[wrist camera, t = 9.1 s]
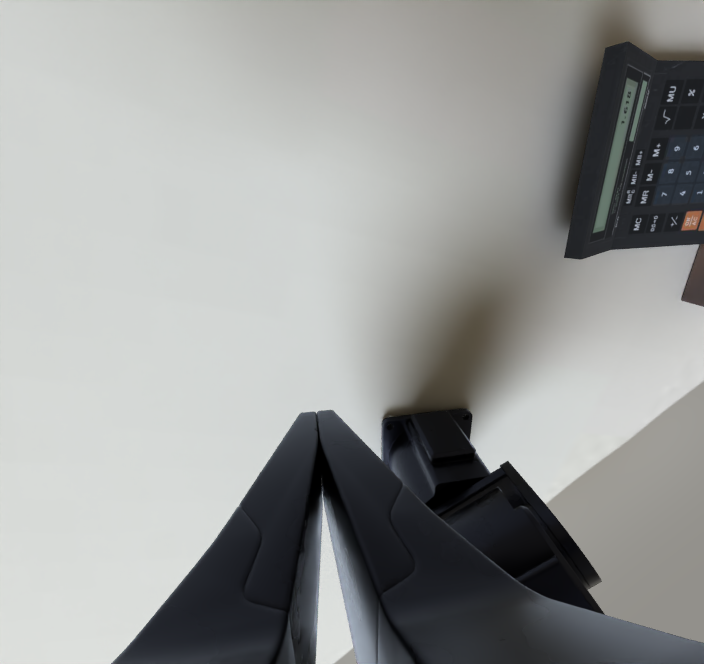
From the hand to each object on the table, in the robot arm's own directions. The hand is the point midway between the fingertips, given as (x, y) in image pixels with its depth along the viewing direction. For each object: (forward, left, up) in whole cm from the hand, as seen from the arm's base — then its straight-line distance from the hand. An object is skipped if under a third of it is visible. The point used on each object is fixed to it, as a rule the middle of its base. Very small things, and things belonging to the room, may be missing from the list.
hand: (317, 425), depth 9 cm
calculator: (+7, -20, -12) cm, 24 cm away
